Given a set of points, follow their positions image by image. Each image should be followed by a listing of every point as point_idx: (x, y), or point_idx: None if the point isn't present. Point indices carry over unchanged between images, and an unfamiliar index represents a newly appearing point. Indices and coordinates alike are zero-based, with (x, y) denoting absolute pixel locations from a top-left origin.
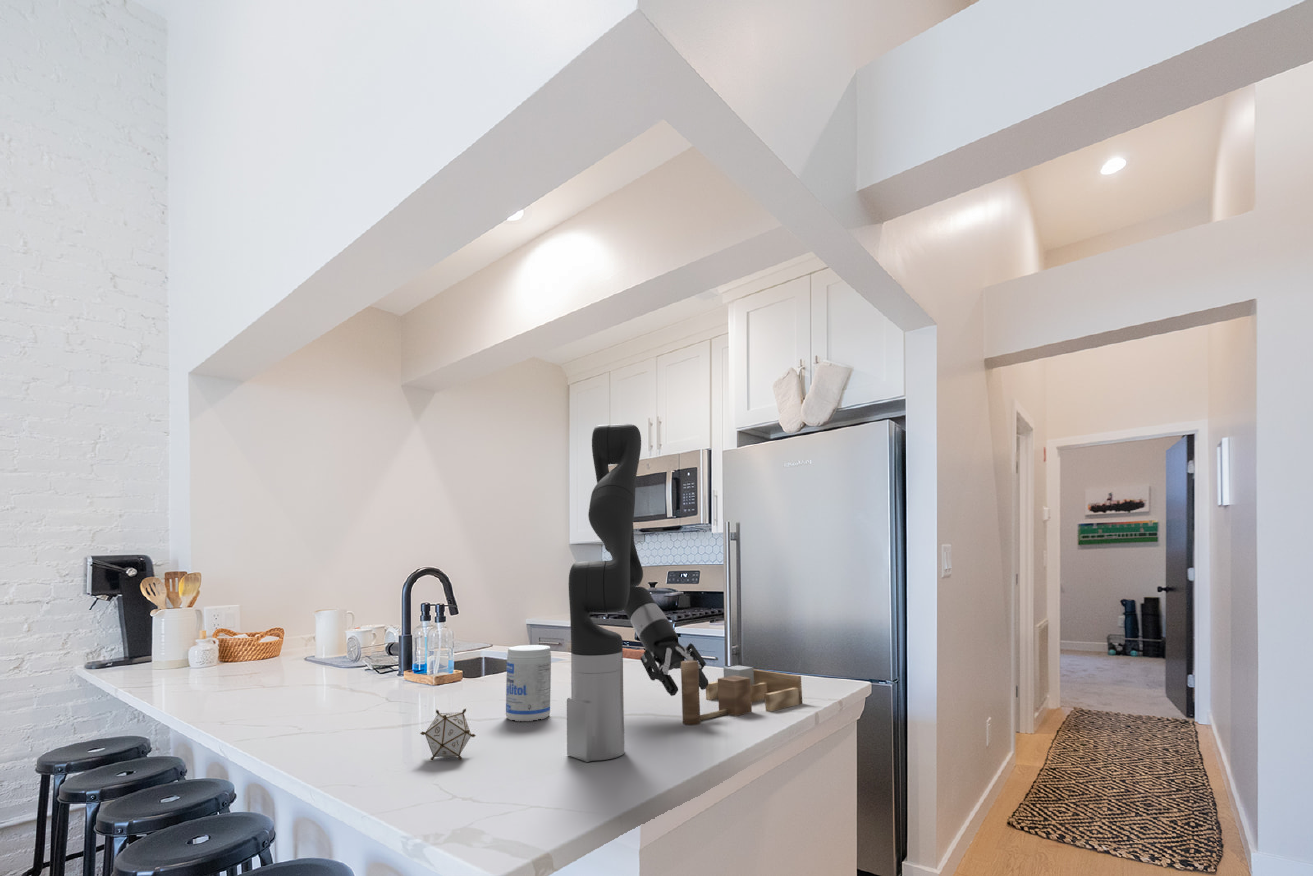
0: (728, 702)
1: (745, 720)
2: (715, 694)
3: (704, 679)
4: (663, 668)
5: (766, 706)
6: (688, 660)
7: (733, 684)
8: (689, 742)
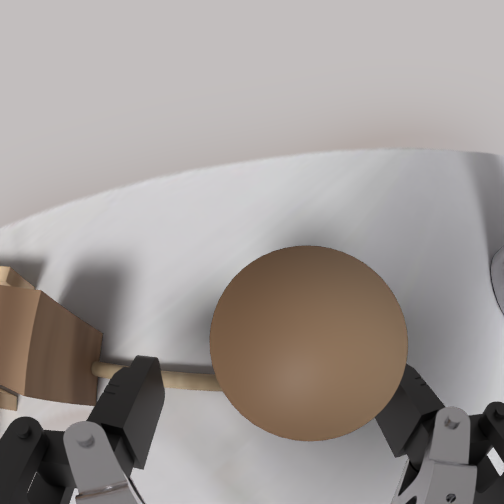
0: (80, 354)
1: (131, 279)
2: None
3: (143, 370)
4: (468, 439)
5: None
6: (256, 425)
7: (47, 301)
8: (387, 236)
